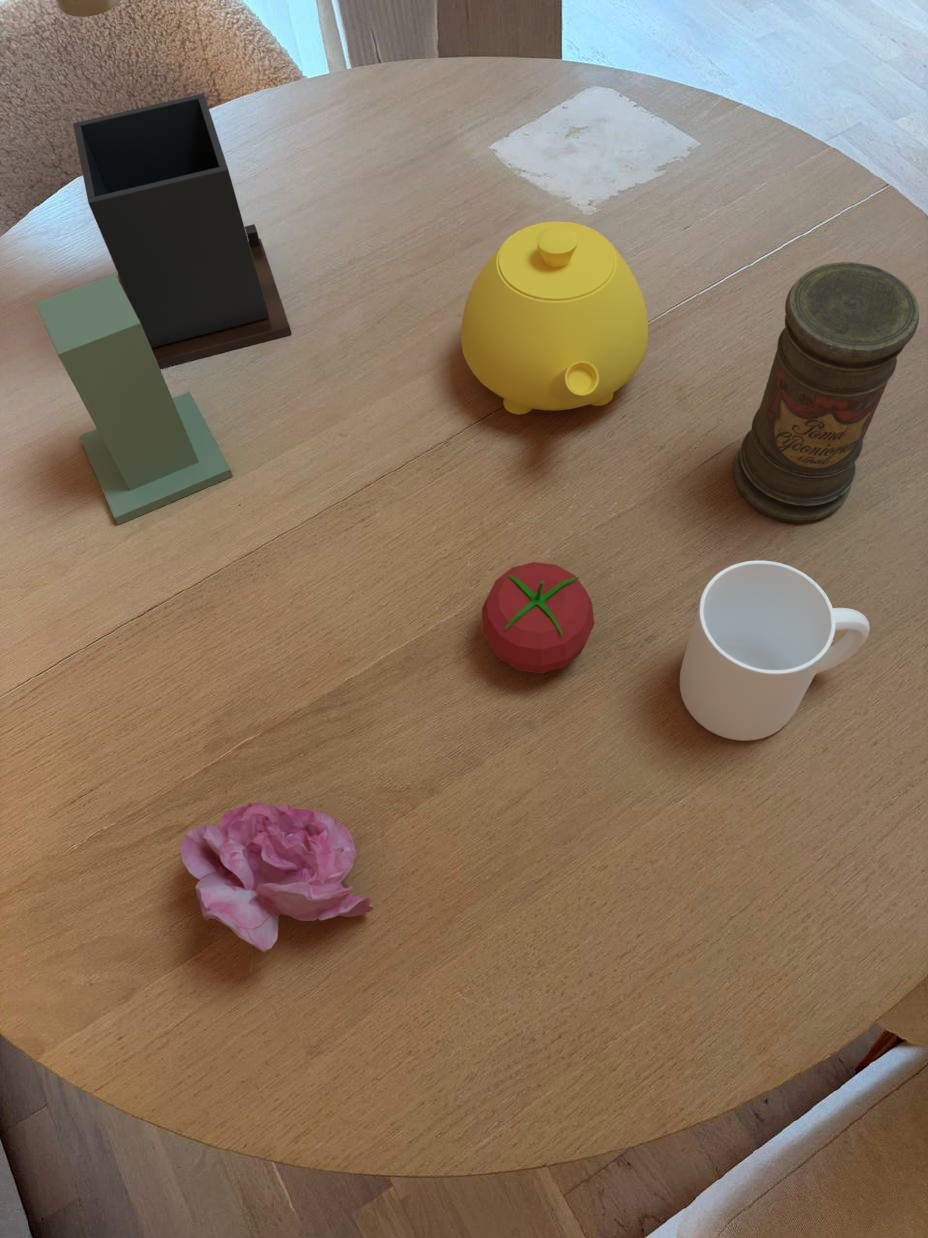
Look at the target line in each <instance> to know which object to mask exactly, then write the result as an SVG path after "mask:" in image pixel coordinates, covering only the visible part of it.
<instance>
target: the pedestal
mask: <svg viewBox="0 0 928 1238" xmlns="http://www.w3.org/2000/svg"><path fill="white" fill-rule="evenodd" d="M34 304H35V306H36V308H37V310H38V313H39V315H40V317H41V320H42V322H43V325H44V326H45V329H46V331H47V334H48V336H49V338H50V340H51V342H52V345H53V347H54V349H55V352H56V354H57V356H58V358H59V359H60V361H61V364H62V365H63V367H64V369H65V371H66V373H67V375H68V377H69V379H70V380H71V382H72V385H73V386H74V388H75V390H76V392H77V394H78V395H79V398H80V399H81V401H82V403H83V405H84V407H85V409H86V411H87V412H88V414H89V416H90V418H91V420H92V422H93V424H94V426H95V427H96V428H95V429H93V430H90V431H87V432H85V433H83V434H81V435H79V437H78V438H79V440H80V442H81V444H82V446H83V449H84V452H85V453H86V456H87V458H88V460H89V463H90V465H91V468H92V470H93V472H94V475H95V477H96V479H97V481H98V483H99V486H100V489H101V491H102V494H103V496H104V498H105V500H106V502H107V505H108V507H109V510H110V512H111V514H112V516H113V519H114V520H115V522H116V524H117V525H122V524H124V523H126V522H129V521H131V520H134V519H136V518H138V517H141V516H143V515H145V514H148V513H150V512H152V511H155V510H158V509H160V508H162V507H164V506H166V505H169V504H172V503H173V502H176V501H178V500H182V499H184V498H185V497H188V496H190V495H192V494H195V493H197V492H200V491H202V490H204V489H207V488H210V487H211V486H214V485H216V484H218V483H221V482H223V481H226V480H229V479H230V478H232V477H234V475H233V472H232V470H231V468H230V465H229V464H228V461H227V460H226V458H225V456H224V454H223V452H222V451H221V448H220V447H219V444H218V443H217V441H216V439H215V437H214V435H213V433H212V431H211V430H210V427H209V426H208V424H207V422H206V420H205V418H204V416H203V414H202V412H201V410H200V409H199V407H198V405H197V402H196V401H195V399H194V398H193V395H192V393H191V392H190V391H188V392H185V393H183V394H180V395H178V396H175V397H172V394H171V392H170V389H169V387H168V385H167V383H166V380H165V377H164V376H163V373H162V370H161V369H160V368H159V366H158V363H157V361H156V358H155V356H154V354H153V351H152V349H151V347H150V344H149V342H148V339H147V337H146V335H145V332H144V330H143V328H142V325H141V323H140V321H139V319H138V317H137V315H136V313H135V311H134V309H133V307H132V305H131V303H130V302H129V300H128V298H127V296H126V294H125V292H124V290H123V288H122V286H121V284H120V282H119V279H118V275H116V273H112V274H109V275H105V276H103V277H100V278H97V279H95V280H92V281H89V282H87V283H85V284H82V285H80V286H79V285H78V286H76V287H73V288H70V289H68V290H65V291H63V292H60V293H57V294H54V295H51V296H48V297H46V298H44V299H41V300H38V301H35V302H34Z"/></svg>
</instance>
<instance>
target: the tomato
mask: <svg viewBox="0 0 928 1238" xmlns="http://www.w3.org/2000/svg"><path fill="white" fill-rule="evenodd" d="M481 621H482V622H481V624H482V632H483V633H484V635H485V637H486V640H487V642H488V643H489V645H490V646H491V648H492V650H493V651H494V653H495V655H496V656H497V658H498V659H500V661H503V662H504V663H506V664H507V665H509V666H511V667H512V668H513V669H516V670H517V671H522V672H531V673H537V674H544V673H548V672H551V671H555V670H560V669H563V668H565V667H566V666H567V665H569V664H570V663H571V662H572V661H573V660H575V659H576V658H577V657H578V656H580V655H581V653H582V652H583V650H584V648H585V646H586V644H587V642H588V639H589V637H590V635H591V632H592V630H593V628H594V626H595V618H594V608H593V601H592V599H591V596H590V595H589V593H588V591H587V590H586V588H585V587H584V585H583V584H582V583H581V581H580V577H579V576H576V575H575V574H573V573H572V572H570V571H568V570H566V569H565V568H563V567H561V566H559V565H558V564H554V563H553V564H552V563H546V562H545V563H544V562H538V561H537V562H536V561H531V562H529V563H524V564H521V565H517V566H513V567H511V568H509V570H507V571H505V572H504V573H503V574H502V575H501V576H499V577H497V578H496V579H495V580H494V583H493V585H492V586H491V589H490V590H489V592H488V594H487V597H486V599H485V600H484V603H483V605H482V606H481Z"/></svg>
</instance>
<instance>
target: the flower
mask: <svg viewBox="0 0 928 1238" xmlns="http://www.w3.org/2000/svg"><path fill="white" fill-rule="evenodd" d="M355 845H356V844H355V842H354V838H353V837H352V835H351V832H350V831H349V829H348V828H347V827H346V825H343V824H342V823H339V821H338V819H333V818H332V817H331V816H330V815H329V814H327V813H325V812H320V811H313V810H312V809H309V808H304V807H300V808H299V807H293V806H291V805H288V804H283V805H279V806H276V805H273V804H269V805H267V804H264V803H263V802H261V801H257V802H248V803H247V804H245V805H243V806H240V807H236V808H233V809H230V810H228V811H226V812H225V813H223V816H222V818H221V819H220V824H219V825H218V824H216V823H211V824H209V825H206V824H205V825H204V824H200V825H198V826H196V827H194V828H191V829H189V830H188V832H187V833H185V835H184V837H183V838H182V840H181V842H180V854H181V859H182V864H183V866H184V867H185V869H186V870H187V871H188V872H189V874H190V875H192V876H193V877H194V878H196V879H198V880H199V881H198V882H197V883H196V885H195V892H196V896H197V901H198V904H199V907H200V910H201V913H202V918H204V920H205V921H209V920H213V919H214V920H216V921H218V922H220V923H222V924H223V925H225V926H226V927H229V929H231V930H232V932H234V934H235V935H236V936H237V937H238V938H240V940H243V941H244V942H246V943H248V944H249V945H250V946H251V947H252V948H251V960H250V969H249V974H251V972H252V969H253V964H254V951H255V950H254V948H255V949H257V950H259V951H261V952H262V953H266V952H267V951H268V950H271V949H272V948H273V946H274V945H275V944H276V942H277V941H278V937H279V920H280V918H281V916H282V915H283V916H289V917H291V918H293V919H295V920H296V921H297V920H298V921H301V922H307V921H308V922H311V921H313V922H314V921H316V920H317V919H318V920H319V921H324V920H329V919H330V920H331V919H333V918H335V917H345V918H352V917H356V916H361V915H363V916H364V915H366V914H367V913H370V912H371V911H373V910H374V907H373V906H372V904H371V903H372V901H371V897H370V896H369V897H368V896H359V895H358V896H357V895H353V894H352V890H353V889H354V888H353V887H354V886H353V885H351V886H349V887H344V886H343V885H342V883H341V882H343V881H344V879H345V878H346V876H347V875H348V874H349V873H350V871H351V869H352V868H353V866H354V862H355V860H356V854H357V851H356V846H355Z"/></svg>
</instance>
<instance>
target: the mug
mask: <svg viewBox="0 0 928 1238" xmlns="http://www.w3.org/2000/svg"><path fill="white" fill-rule="evenodd" d="M693 620H694V621H693V624H692V627H691V631H690V635H689V638H688V642H687V646H686V649H685V652H684V656H683V659H682V663H681V667H680V673H679V691H680V696H681V699H682V701H683V704H684V706H685V708H686V710H687V712H689V714H690V715H691V717H692V718H693V719H694V720H695V721H696V722H697V723H698V724H699V725H701V726H702V727H703V728H704V729H706V730H708V731H709V732H710V733H713V734H715V735H717V736H719V737H721V738H725V739H729V740H732V741H733V740H734V741H744V742H745V741H747V742H749V741H756V740H760V739H761V740H762V739H764V738H767V737H770V736H771V735H773V734H776V733H778V731H780V730H782V729H783V727H785V726H786V725H787V724H788V723H789V722H790V720H791V719H792V718H793V716H795V714H796V713H797V710H798V708H799V706H800V705H801V702H802V701H803V699H804V697H805V695H806V693H807V691H808V689H809V687H810V685H811V683H812V681H813V680H814V679H815V678H814V677H815V676H816V675H817V674H820V673H823V672H826V671H829V670H831V669H833V668H835V667H837V666H839V665H841V664H843V663H845V662H846V661H848V660H849V659H850V658H851V657H853V656H854V655H856V653H858V651H859V650H860V649H861V648H862V647H863V646H864V645H865V644H866V642H867V640H868V638H869V635H870V630H871V628H870V623H869V620H868V618H867V617H866V616H865V615H864V614H863V613H862V612H861V611H859V610H856V609H853V608H849V607H833V605H832V603H831V601H830V599H829V597H828V595H827V594H826V592H825V591H824V590H823V588H822V587H821V586H820V584H818V583H817V582H816V581H815V580H813V578H812V577H810V576H809V575H807V574H806V573H804V572H802V571H801V570H799V569H797V568H795V567H793V566H791V565H787V564H786V563H785V564H784V563H782V562H777V561H773V560H772V561H771V560H757V559H756V560H747V561H742V562H738V563H735V564H733V565H730V566H727V567H726V568H724V569H722V570H721V571H719V572H718V573H717V574H715V575H714V576H713V577H712V578H711V579H710V581H709V582H708V583H707V584H706V586H705V588H704V589H703V591H702V593H701V596H700V599H699V602H698V606H697V609H696V613H695V617H694V619H693ZM841 631H843V632H845V631H846V632H845V634H844V635H843V636H842V638H840V639H839V640H838V641H837V642H836V643H833V641H834V638H835V635H836V634H835V633H837V632H841ZM832 643H833V644H832Z"/></svg>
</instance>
